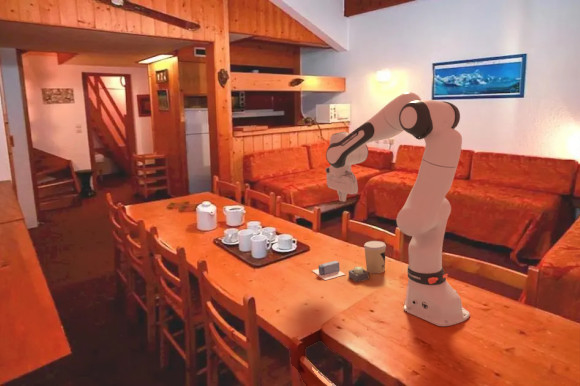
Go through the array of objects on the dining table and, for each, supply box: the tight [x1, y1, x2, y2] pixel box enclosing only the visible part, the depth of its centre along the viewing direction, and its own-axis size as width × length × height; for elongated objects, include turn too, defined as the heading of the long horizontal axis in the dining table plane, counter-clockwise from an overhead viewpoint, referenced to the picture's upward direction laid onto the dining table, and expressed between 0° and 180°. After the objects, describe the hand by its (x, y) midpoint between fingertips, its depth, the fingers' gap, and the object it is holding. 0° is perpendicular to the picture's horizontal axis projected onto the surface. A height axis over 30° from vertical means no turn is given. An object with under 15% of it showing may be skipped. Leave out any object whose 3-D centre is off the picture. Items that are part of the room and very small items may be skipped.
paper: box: [311, 268, 346, 281], centre depth 178 cm, size 12×10×1 cm
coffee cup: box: [363, 240, 387, 274], centre depth 176 cm, size 9×9×12 cm
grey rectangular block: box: [318, 260, 341, 275], centre depth 178 cm, size 9×3×4 cm, turn 114°
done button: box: [353, 266, 364, 274], centre depth 170 cm, size 4×4×4 cm
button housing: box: [348, 268, 370, 283], centre depth 170 cm, size 6×6×3 cm
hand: (342, 200), depth 176 cm, fingers closed
